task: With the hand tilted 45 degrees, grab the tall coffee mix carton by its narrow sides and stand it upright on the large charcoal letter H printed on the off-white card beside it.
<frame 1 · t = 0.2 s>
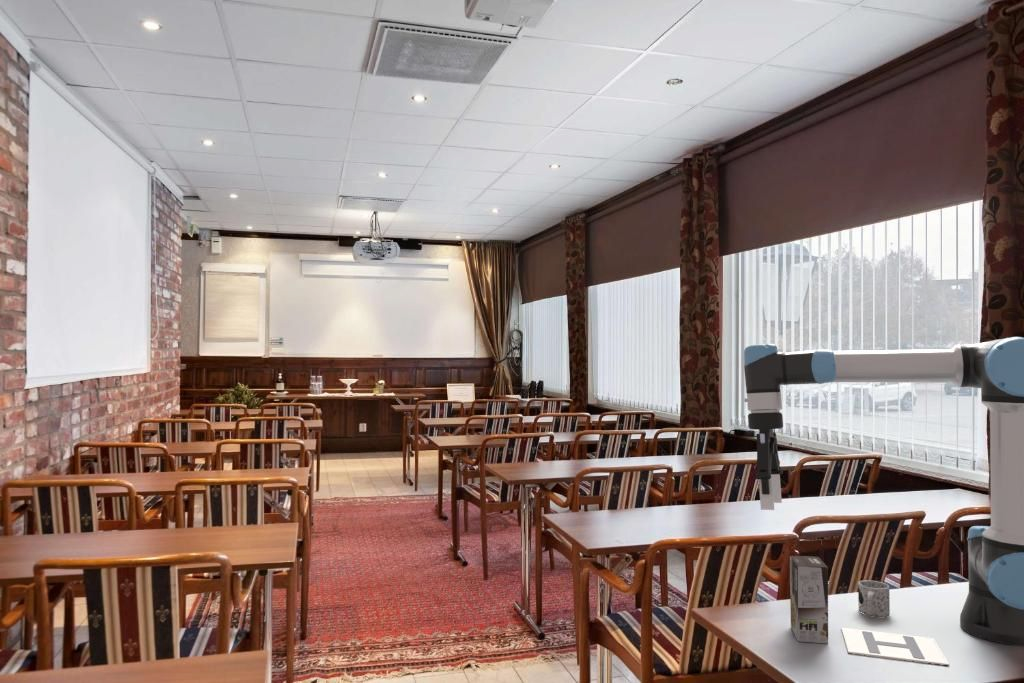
hand: (771, 506, 163), 27 cm above the table, tool pointing down, fingers open, 13 cm apart
coffee box: (809, 636, 156), on the table
letter card: (891, 646, 150), on the table
mug: (872, 615, 169), on the table
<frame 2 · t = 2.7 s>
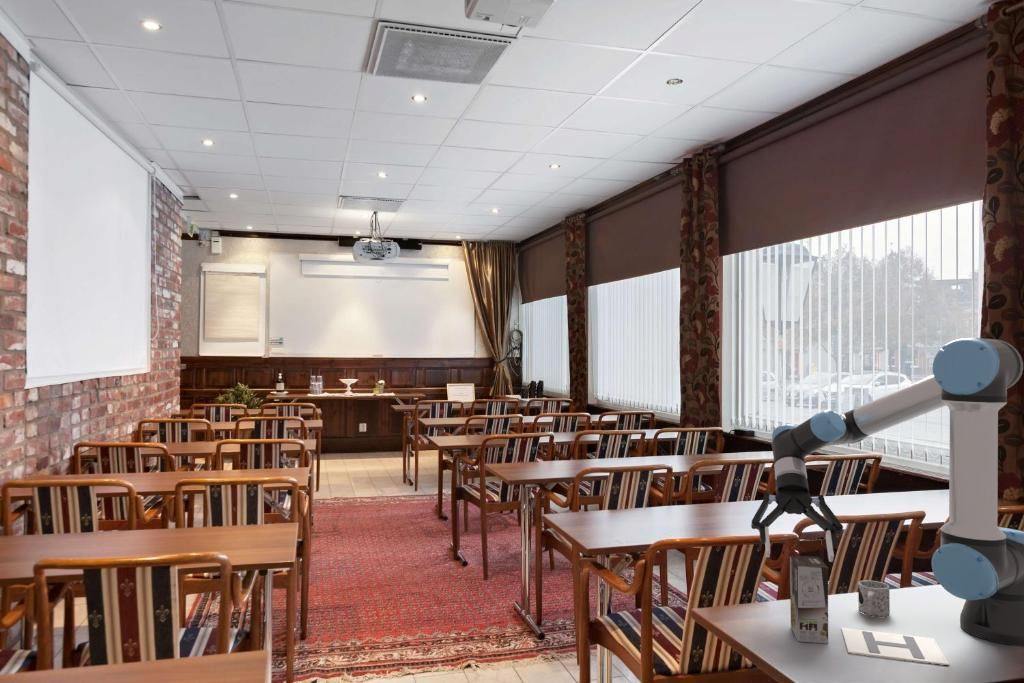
hand: (799, 556, 165), 15 cm above the table, tool tilted 45°, fingers open, 13 cm apart
nothing on the table moved.
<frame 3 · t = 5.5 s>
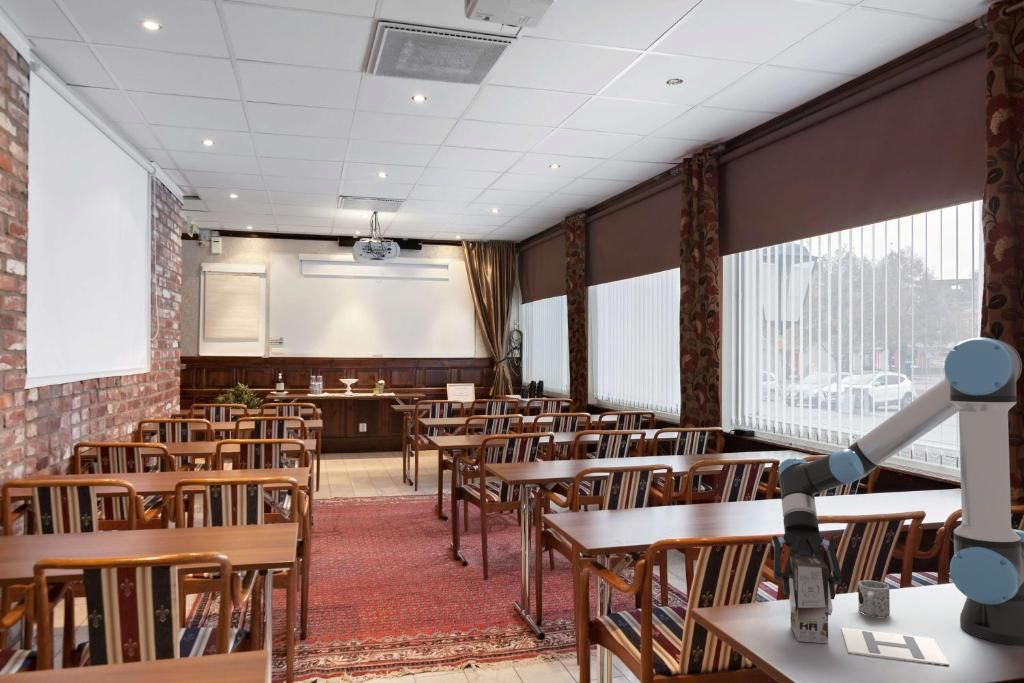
hand: (811, 610, 153), 6 cm above the table, tool tilted 45°, fingers closed on coffee box, 7 cm apart
coffee box: (809, 636, 156), on the table, touching gripper
everything else where it was.
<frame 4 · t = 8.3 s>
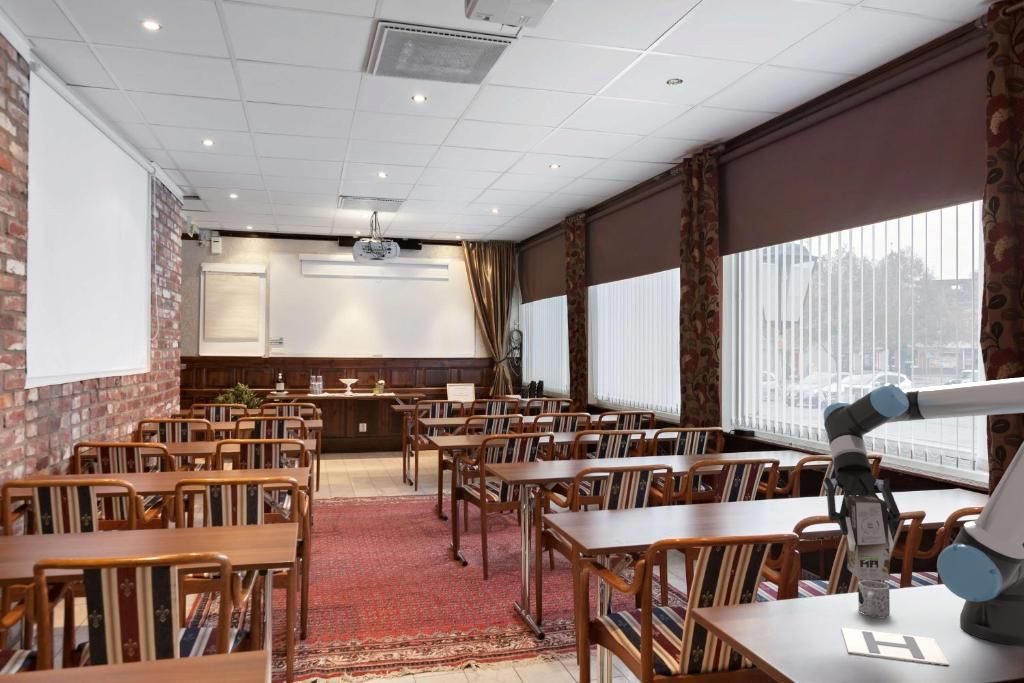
hand: (871, 547, 150), 21 cm above the table, tool tilted 45°, fingers closed on coffee box, 7 cm apart
coffee box: (868, 575, 153), point 14 cm above the table, touching gripper
everything else where it was.
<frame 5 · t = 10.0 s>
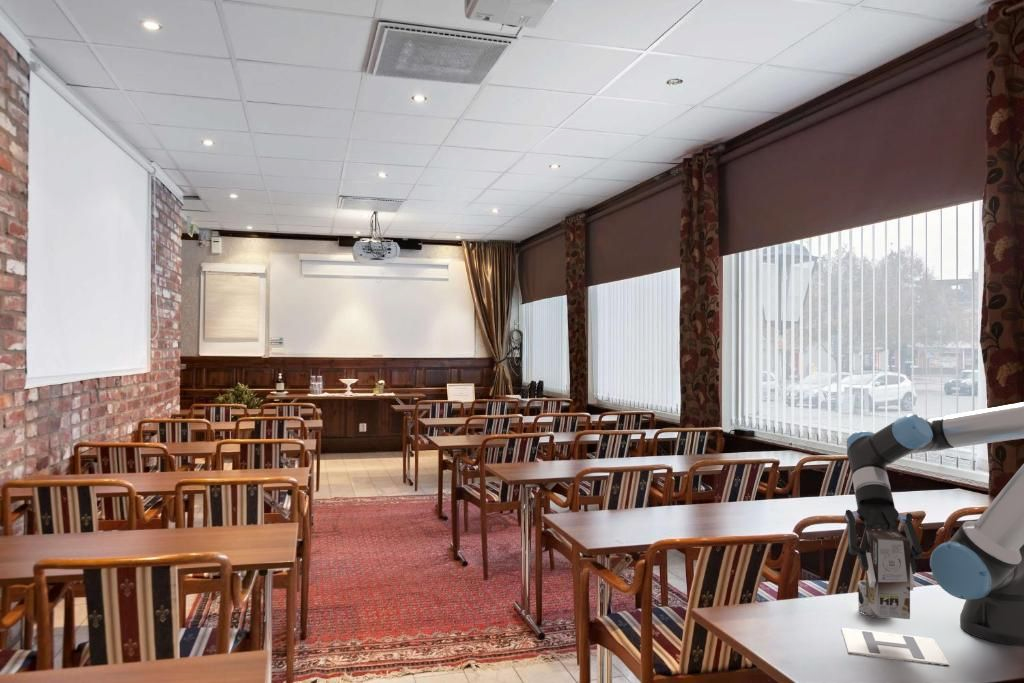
hand: (892, 585, 148), 14 cm above the table, tool tilted 45°, fingers closed on coffee box, 7 cm apart
coffee box: (887, 611, 151), point 7 cm above the table, touching gripper
everything else where it was.
when the fingers open (8 cm above the table, at t = 11.3 s): coffee box drops 1 cm, resting on letter card.
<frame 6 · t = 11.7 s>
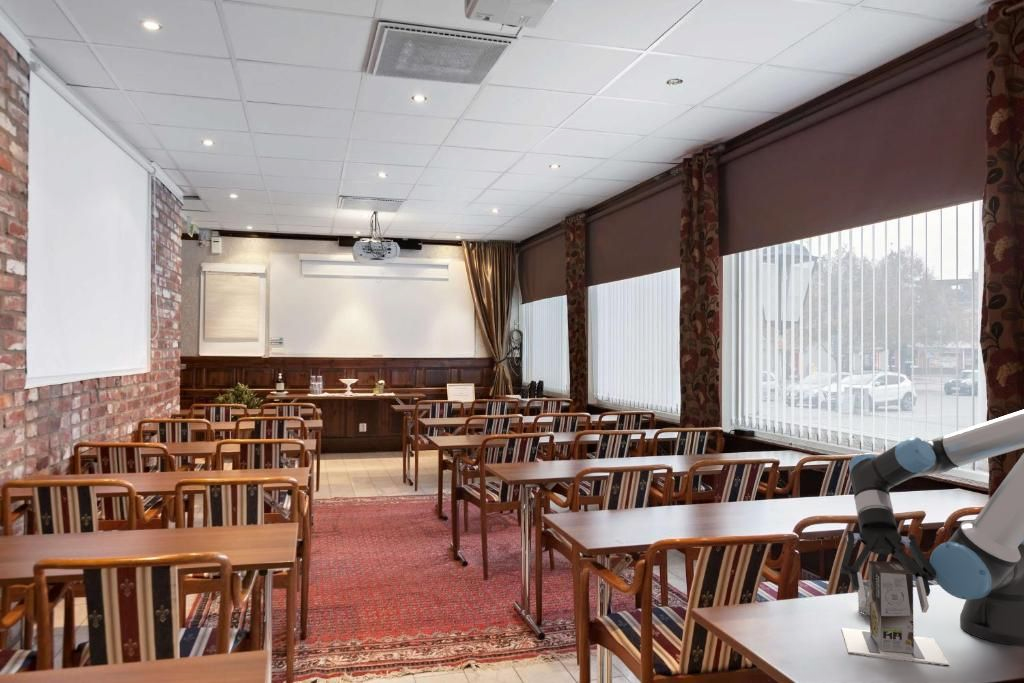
hand: (894, 606, 148), 9 cm above the table, tool tilted 45°, fingers open, 11 cm apart
coffee box: (891, 644, 150), resting on letter card
everything else where it was.
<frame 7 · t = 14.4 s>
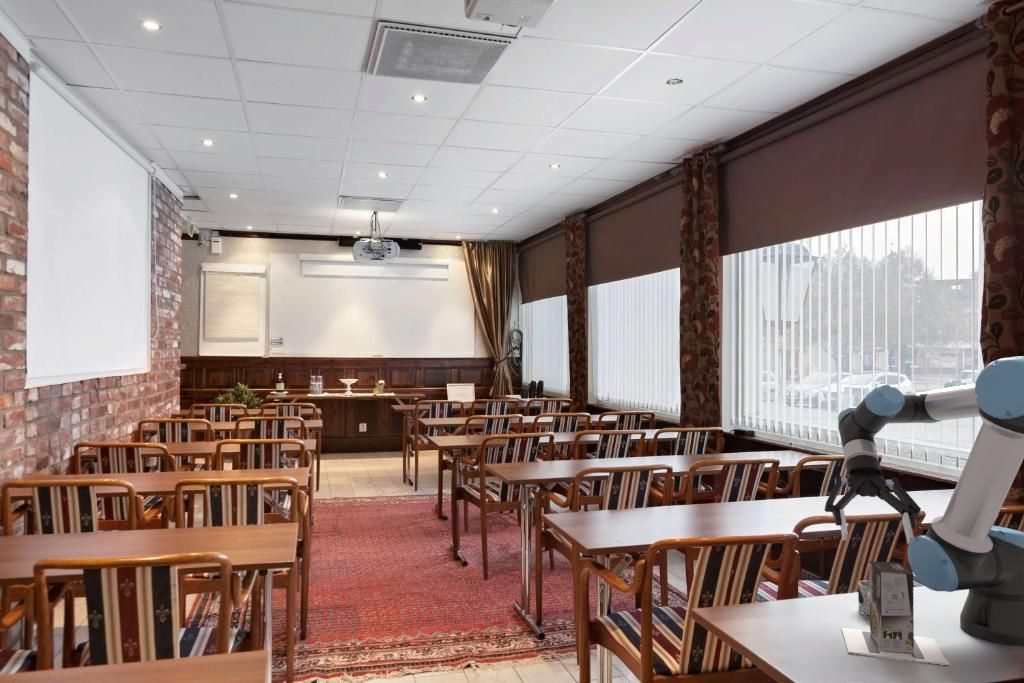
hand: (877, 539, 161), 20 cm above the table, tool tilted 45°, fingers open, 13 cm apart
nothing on the table moved.
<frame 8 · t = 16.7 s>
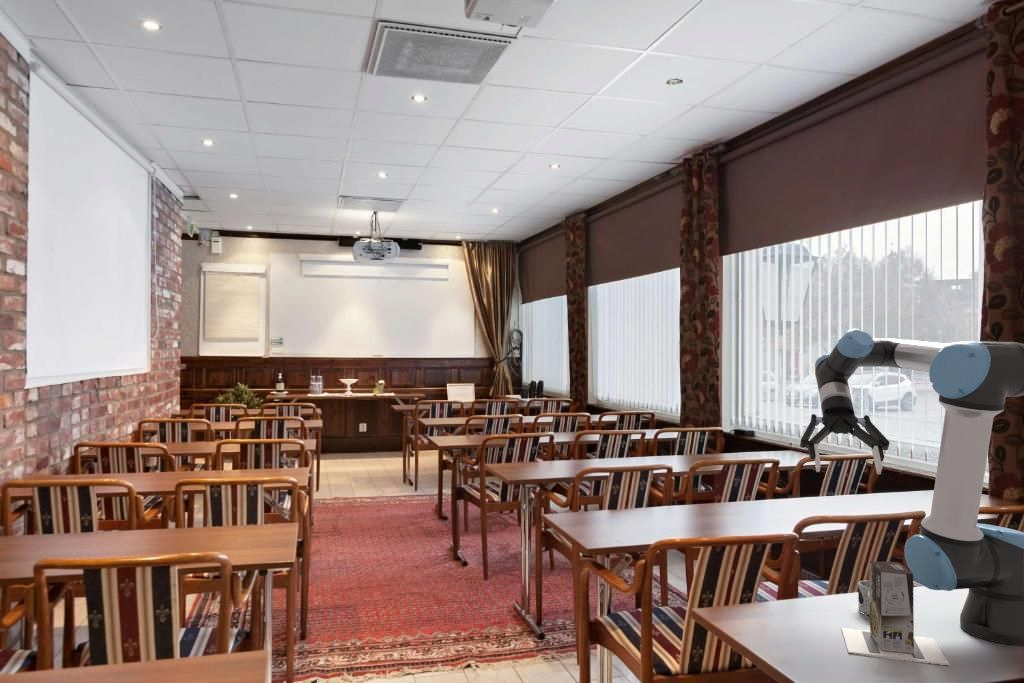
hand: (848, 469, 173), 34 cm above the table, tool tilted 45°, fingers open, 13 cm apart
nothing on the table moved.
at the end: coffee box inside the target area on the letter card (0.1 cm from its centre), point 0.3 cm above the letter card's base; coffee box tilted 0°; the gripper is holding nothing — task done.
